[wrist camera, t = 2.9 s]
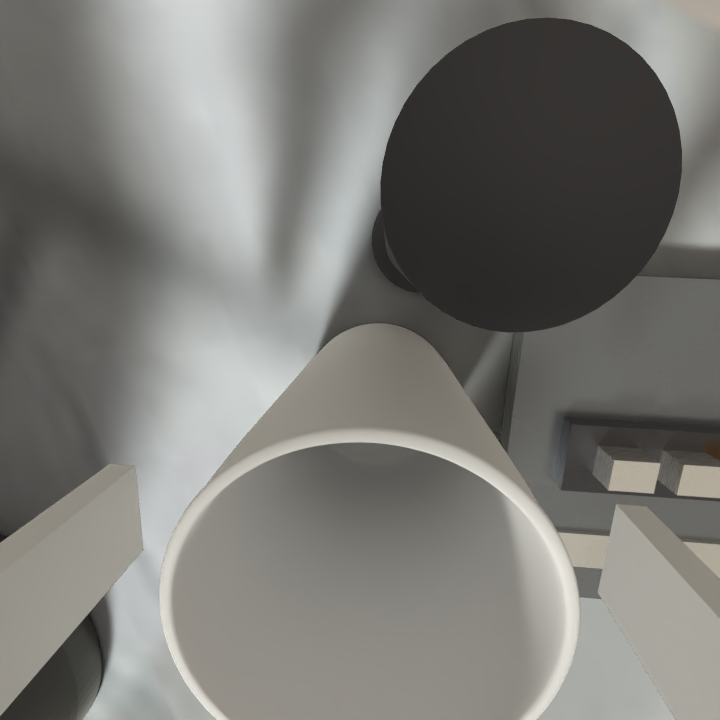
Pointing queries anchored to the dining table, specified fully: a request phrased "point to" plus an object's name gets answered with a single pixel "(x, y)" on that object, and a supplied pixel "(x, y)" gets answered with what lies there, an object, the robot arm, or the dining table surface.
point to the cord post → (528, 176)
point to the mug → (370, 555)
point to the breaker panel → (622, 418)
